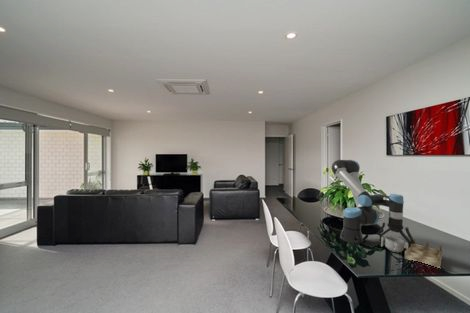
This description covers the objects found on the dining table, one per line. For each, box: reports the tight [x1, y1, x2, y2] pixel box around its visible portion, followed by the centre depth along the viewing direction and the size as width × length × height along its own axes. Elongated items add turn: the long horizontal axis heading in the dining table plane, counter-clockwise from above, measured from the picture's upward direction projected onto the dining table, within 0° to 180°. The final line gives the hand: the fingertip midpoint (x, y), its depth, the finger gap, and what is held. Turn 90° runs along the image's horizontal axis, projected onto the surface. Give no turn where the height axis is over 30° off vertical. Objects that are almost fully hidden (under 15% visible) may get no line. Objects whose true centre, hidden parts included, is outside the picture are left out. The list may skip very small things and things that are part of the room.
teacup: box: [384, 235, 406, 254], centre depth 143 cm, size 14×11×8 cm
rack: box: [404, 238, 443, 269], centre depth 134 cm, size 16×19×8 cm
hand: (394, 249), depth 143 cm, fingers open, 13 cm apart
